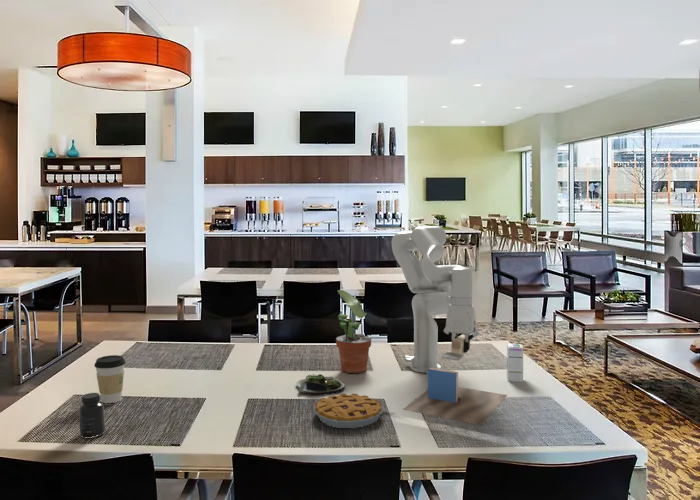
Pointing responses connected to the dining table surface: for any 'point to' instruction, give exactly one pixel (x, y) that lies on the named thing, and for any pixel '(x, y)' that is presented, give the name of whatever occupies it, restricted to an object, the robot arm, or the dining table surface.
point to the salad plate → (320, 385)
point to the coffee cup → (110, 377)
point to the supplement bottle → (91, 415)
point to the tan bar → (456, 349)
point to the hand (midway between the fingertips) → (460, 350)
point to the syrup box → (515, 362)
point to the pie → (348, 410)
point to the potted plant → (352, 338)
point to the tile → (443, 385)
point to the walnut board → (459, 405)
